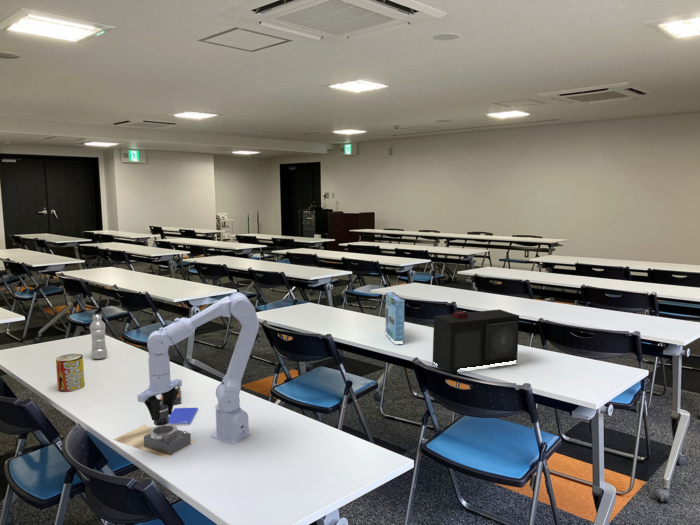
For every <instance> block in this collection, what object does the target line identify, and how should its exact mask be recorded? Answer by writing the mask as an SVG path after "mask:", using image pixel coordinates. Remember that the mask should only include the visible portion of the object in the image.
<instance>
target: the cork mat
mask: <svg viewBox="0 0 700 525" xmlns="http://www.w3.org/2000/svg"><path fill="white" fill-rule="evenodd" d="M152 428H153V426H150V425H147V424H143V425H141V426H139V427H136V428H134V429H133V430H131V431H128V432H126V433H123V434H122V435H120V436H118V437H116V438H114V439H112V440H113V441H116V442H119V443H121V444H125V445H127V446H130V447H133V448H137V449H138V450H142V451H145V452H147V453H150V454H152V455H156V456H159V457H163V458H165V459H167V458H169V457H171V456H172V455H173V456H174V454H176V453H178V452H180V451H181V450H183V449H185V448H187V447H188V446H191V445H192V444H194V443H195V442H197V440H194V439H191V444H189V445H187V446H186V447H184V448H182V449H180V450H179V451H177V452H175V453H173V454H171V455H167V454H164V453H161V452H158V451H155V450H152V449H149V448H147V447H144V436H145V435H147V434H149V431H150V430H151V429H152Z"/></svg>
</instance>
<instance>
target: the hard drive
mask: <svg viewBox="0 0 700 525" xmlns="http://www.w3.org/2000/svg"><path fill="white" fill-rule="evenodd" d="M198 411H199V408H198V407H176V408H173V409H172V414H171V415H169V423H168V424H172V425H175V426H176V427H178V426H191V425H192V423H193V420H194V419H195V417H196V415H197V413H198Z"/></svg>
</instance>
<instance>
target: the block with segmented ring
mask: <svg viewBox="0 0 700 525" xmlns="http://www.w3.org/2000/svg"><path fill="white" fill-rule="evenodd" d="M152 427H153V426H152ZM191 440H192V439H191V433H190V432H188V431H187V430H180V429H178V426H175V425H172V424H166V425H161V426H157V425H155V426H154V427H153V428H152V429H151V430H150V431H149V434H147V435H145V436H144V447H147V448H149V449H152V450H155V451H158V452H161V453H164V454H167V455H171V454H173V453H175V452H176V453H178V452H180V451H181V450H180V449H182V448H183V449H185V448H187V447H188V446H187V445H189V444H190V445H192V444H191ZM190 445H189V446H190ZM186 446H187V447H186ZM184 447H185V448H184ZM183 449H182V450H183ZM179 450H180V451H179ZM177 451H178V452H177ZM176 453H175V454H176ZM173 455H174V454H173ZM171 456H172V455H171Z"/></svg>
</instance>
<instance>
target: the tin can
mask: <svg viewBox="0 0 700 525" xmlns="http://www.w3.org/2000/svg"><path fill="white" fill-rule="evenodd" d="M83 359H84V355H83V354H81V353H68V354H67V353H66V354H63V355H59V356H57V357H56V358H55V365H56V368H55V369H56V381H57V382H56V383H57V391H58V392H60V393H71V392H76V391H80V390H82V389H83V388H85V374H84V373H85V372H84V370H85V369H84V360H83Z"/></svg>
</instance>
